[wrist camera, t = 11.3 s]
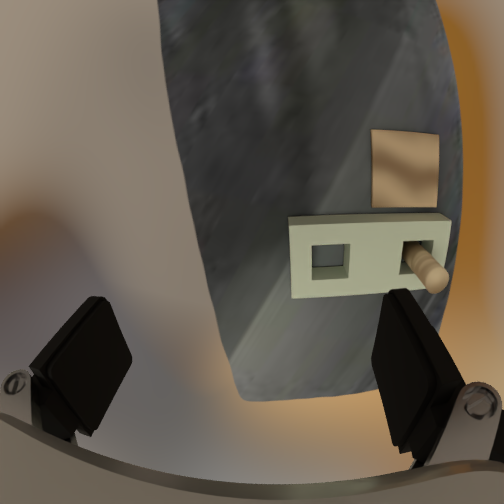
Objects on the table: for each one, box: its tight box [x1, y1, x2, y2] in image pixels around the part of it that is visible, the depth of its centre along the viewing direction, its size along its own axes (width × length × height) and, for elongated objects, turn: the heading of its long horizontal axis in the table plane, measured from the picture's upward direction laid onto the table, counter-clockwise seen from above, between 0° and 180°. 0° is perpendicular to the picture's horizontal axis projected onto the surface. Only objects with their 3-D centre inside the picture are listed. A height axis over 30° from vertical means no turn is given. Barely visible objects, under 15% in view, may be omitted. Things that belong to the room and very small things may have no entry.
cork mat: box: [371, 129, 439, 207], centre depth 32 cm, size 10×10×1 cm
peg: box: [401, 241, 449, 294], centre depth 32 cm, size 3×3×10 cm
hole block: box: [288, 213, 452, 298], centre depth 36 cm, size 10×22×4 cm, turn 95°
